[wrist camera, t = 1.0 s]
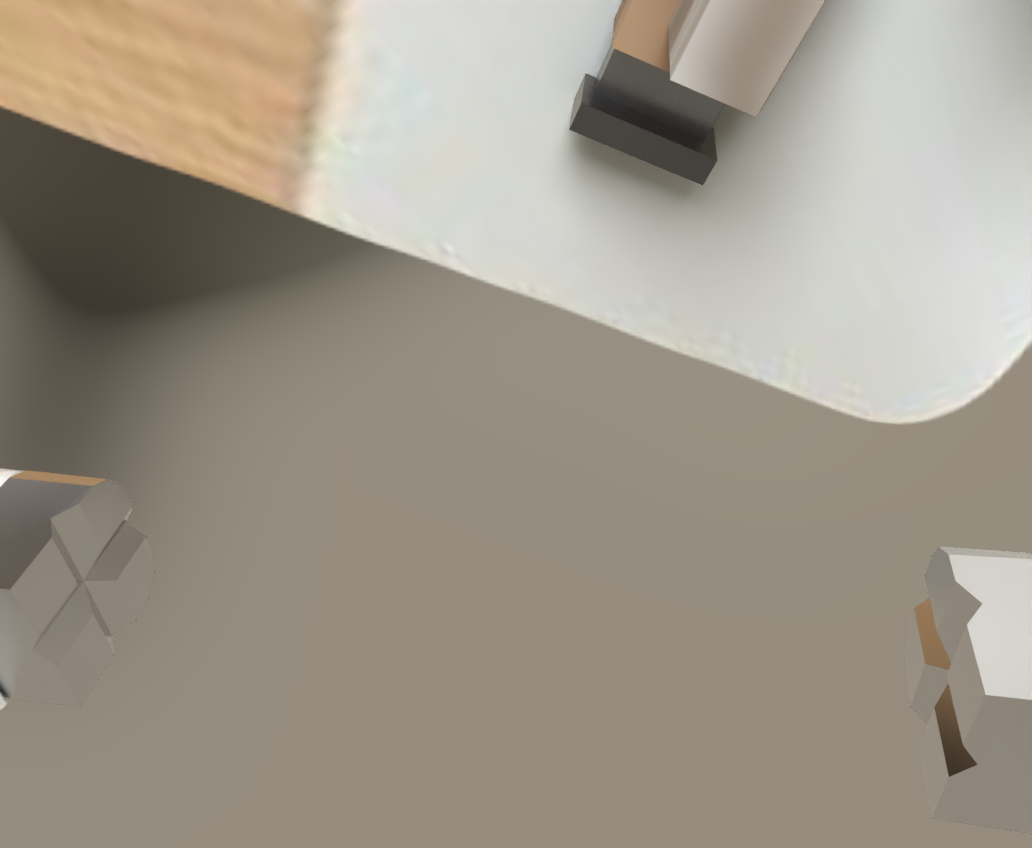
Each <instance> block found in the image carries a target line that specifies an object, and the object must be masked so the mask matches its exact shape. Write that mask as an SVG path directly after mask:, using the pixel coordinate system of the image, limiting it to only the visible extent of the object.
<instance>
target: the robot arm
mask: <svg viewBox="0 0 1032 848" xmlns="http://www.w3.org/2000/svg"><path fill="white" fill-rule="evenodd" d="M132 507H133V505H132V504H131V501H130V500H129V497H128V496H127V493H126V492H125V490H124V488H123V486H122V484H121V483H118V482H114V481H111V480H107V479H99V478H91V477H82V476H73V475H63V474H54V473H45V472H36V471H27V470H26V471H18V470H9V469H0V710H1V709H2V708H3V707H4V706H6V705H7V701H6V700H17V701H26V702H36V703H46V704H56V705H66V706H76V707H81V706H82V705H83V703H84V701H85V700H86V698H87V697H88V695H89V694H90V692H91V691H92V689H93V687H94V686H95V684H96V683H97V681H98V680H99V678H100V676H101V675H102V673H103V672H104V670H105V669H106V667H107V665H108V664H109V662H110V661H111V659H112V658H113V656H114V646H113V639H112V636H113V635H114V634H116V633H117V632H119V631H120V630H122V629H124V628H125V627H127V626H128V625H129V624H131V623H133V622H134V621H136V619H137V618H138V616H139V614H140V613H141V611H142V609H143V608H144V606H145V604H146V603H147V601H148V599H149V596H150V592H151V588H152V583H153V580H154V575H155V566H154V557H153V551H152V549H151V546H150V544H149V542H148V539H147V537H146V536H145V535H144V534H143V533H142V532H140V531H139V530H138V529H137V528H136V527H135V526H133V525H132V524H131V523H130V522H129V521H127V518H128V516H129V514H130V512H131V510H132ZM925 579H926V584H927V588H928V593H929V597H930V598H929V599H927V600H926V601H924V602H923V603H921V604H920V605H918V606H916V607H915V608H914V610H913V614H912V618H911V622H910V625H909V628H908V633H907V643H906V655H905V666H906V682H907V688H908V694H909V700H910V705H911V708H912V709H913V710H914V711H915V712H916V713H917V714H918V715H919V716H920V717H921V718H922V719H923V720H924V721H925V722H926V724H927V728H926V731H925V734H924V736H923V739H922V742H921V744H920V747H919V755H920V760H921V766H922V771H923V776H924V781H925V787H926V791H927V797H928V802H929V808H930V812H931V818H933V819H939V820H946V821H951V822H958V823H965V824H971V825H977V826H984V827H990V828H996V829H1003V830H1009V831H1015V832H1022V833H1028V834H1032V553H1019V552H1005V551H992V550H978V549H977V550H976V549H964V548H950V547H938V549H937V550H936V551H935V552H934V554H933V555H932V556H931V559H930V562H929V565H928V567H927V570H926V573H925ZM5 699H6V700H5Z"/></svg>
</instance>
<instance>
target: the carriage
mask: <svg viewBox="0 0 1032 848" xmlns="http://www.w3.org/2000/svg"><path fill="white" fill-rule="evenodd" d="M825 1H826V0H623V1H622V3H621V5H620V7H619V10H618V12H617V14H616V16H615V19H614V29H613V39H612V48H614V49H617V50H619V51H621V52H624V53H626V54H628V55H630V56H633V57H635V58H637V59H640V60H642V61H644V62H647V63H649V64H651V65H653V66H656V67H658V68H660V69H663V70H665V71H667V72H669V73H670V80H672V81H674V82H676V83H678V84H681V85H683V86H685V87H688V88H690V89H692V90H694V91H697V92H699V93H701V94H704V95H706V96H708V97H711V98H713V99H715V100H717V101H720V102H722V103H724V104H727V105H729V106H731V107H734V108H736V109H738V110H740V111H743V112H745V113H747V114H750V115H752V116H754V117H756V116H757V114H758V113H759V112H760V111H761V109H762V107H763V105H764V104H765V102H766V100H767V99H768V97H769V95H770V94H771V92H772V90H773V89H774V87H775V85H776V84H777V82H778V80H779V78H780V77H781V75H782V73H783V72H784V70H785V68H786V67H787V65H788V63H789V62H790V60H791V58H792V56H793V55H794V53H795V51H796V50H797V48H798V46H799V45H800V43H801V41H802V40H803V38H804V36H805V35H806V33H807V31H808V29H809V28H810V26H811V24H812V23H813V21H814V19H815V18H816V16H817V14H818V13H819V11H820V9H821V8H822V6H823V4H824V2H825Z"/></svg>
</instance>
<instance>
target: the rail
mask: <svg viewBox="0 0 1032 848" xmlns="http://www.w3.org/2000/svg"><path fill="white" fill-rule="evenodd" d="M723 106H724V103H722V102H720V101H717V100H715V99H713V98H711V97H708V96H706V95H704V94H701V93H699V92H697V91H694V90H692V89H690V88H688V87H685V86H683V85H681V84H678V83H676V82H674V81H672V80H670V73H669V72H667V71H665V70H663V69H660V68H658V67H656V66H653V65H651V64H649V63H647V62H644V61H642V60H640V59H637V58H635V57H633V56H630V55H628V54H626V53H624V52H621V51H619V50H617V49H614V48H612V45H611V47H610V49H609V51H608V54H607V56H606V58H605V60H604V63H603V65H602V67H601V69H600V72H599V74H598V76H597V78H595V77H593V76H590V75H588V74H585V76H584V78H583V81H582V83H581V85H580V88H579V90H578V92H577V94H576V97H575V99H574V105H573V111H572V117H571V123H570V129H569V130H572V131H574V132H577V133H579V134H581V135H584V136H586V137H589V138H591V139H593V140H596V141H598V142H601V143H603V144H605V145H608V146H610V147H613V148H615V149H617V150H620V151H622V152H624V153H627V154H629V155H632V156H634V157H636V158H639V159H641V160H644V161H646V162H648V163H651V164H653V165H656V166H658V167H660V168H663V169H665V170H668V171H670V172H672V173H675V174H677V175H680V176H682V177H684V178H687V179H689V180H692V181H694V182H696V183H699V184H701V185H703V184H704V182H705V180H706V179H707V177H708V175H709V174H710V172H711V170H712V168H713V167H714V165H715V163H716V161H717V155H716V145H715V136H714V128H711V127H712V125H713V124H714V122H715V120H716V118H717V116H718V115H719V113H720V111H721V109H722V108H723Z"/></svg>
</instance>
